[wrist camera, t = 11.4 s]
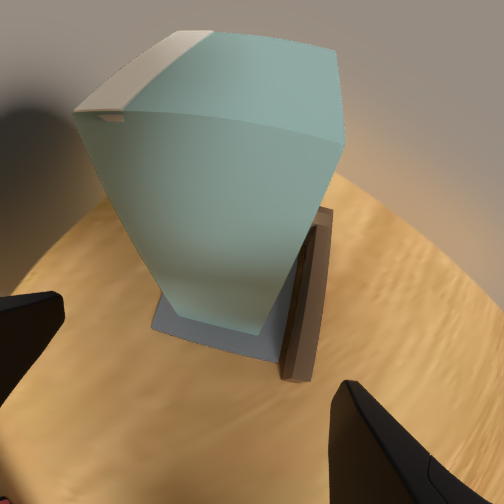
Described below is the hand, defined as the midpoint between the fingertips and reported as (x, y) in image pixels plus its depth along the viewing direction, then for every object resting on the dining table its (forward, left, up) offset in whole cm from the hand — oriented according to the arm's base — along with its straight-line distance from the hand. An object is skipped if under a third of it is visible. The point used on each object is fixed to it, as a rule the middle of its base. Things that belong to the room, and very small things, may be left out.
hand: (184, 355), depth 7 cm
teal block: (0, -5, -9) cm, 10 cm away
